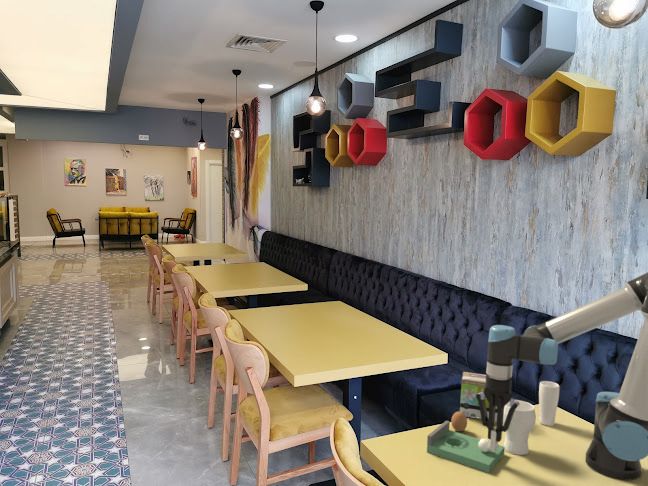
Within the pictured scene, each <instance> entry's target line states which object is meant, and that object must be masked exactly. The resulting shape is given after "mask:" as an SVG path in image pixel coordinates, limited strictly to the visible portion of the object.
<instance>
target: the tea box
mask: <svg viewBox="0 0 648 486" xmlns="http://www.w3.org/2000/svg"><path fill="white" fill-rule="evenodd" d="M486 375H487V374H482V373H474V372H468V371H463V372H462V378H461V389H460V402H459V404H460V405H459V411H461V412H463V413H464V414H465V416H466V418H473V419H478V420H482V419H481V413H480V407H479V402H478V400H477V398H476V395H477V394H478V393H479V392H483V391H484V389H485V384H486ZM485 403H486V409H487V415H488V418H489V402H488V400H487V399H486V397H485ZM497 412H498V410H497V406H496V408H495V421H496V422H495V423H497ZM477 417H479V418H477Z"/></svg>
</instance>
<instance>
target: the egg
mask: <svg viewBox="0 0 648 486" xmlns="http://www.w3.org/2000/svg"><path fill="white" fill-rule="evenodd" d="M467 418H468V417H466V416H465V414H464V413H463V412H461V411H460V410H459V411H455V412H454V413H453V414H452V416H451V421H450V424H451V426H452V428H453V430H454V431H455V432H463V431H465V430H466V428H467V426H468V419H467Z"/></svg>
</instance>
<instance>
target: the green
mask: <svg viewBox="0 0 648 486" xmlns="http://www.w3.org/2000/svg"><path fill="white" fill-rule="evenodd" d="M450 424H451V421H449V420H445V421H444V422H443V423H442V424H440V425H439V426H437V427H436V428H435V429H434V430H433V431H432V432H431V433H429V434H428V435H427V440H426V441H427V442H426V443H427V444H426V453H428V454H432V455H435V456H437V457H441V458H443V459H446V460H449V461H452V462H455V463H458V464H460V465H464V466H466V467H469V468H472V469H475V470H478V471H481V472H484V473H487V474H490V472H491V471H492V470H493V468H494V467H495V466H496V465H497V464H498V462H499V461H500V460H501V459H502V458H503V456H504V455H505V447H504V445H499V444H498V448H497V450H496V451H495V452H492V451H489V452H482V451H481V450H480V449H479V447H478V443H479V441H480V440H481V439H480V438H476V437H473V436H470V435H467V434H464V433H461V432H459V431H455V430H454V431H453V430H451V429H450Z"/></svg>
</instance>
